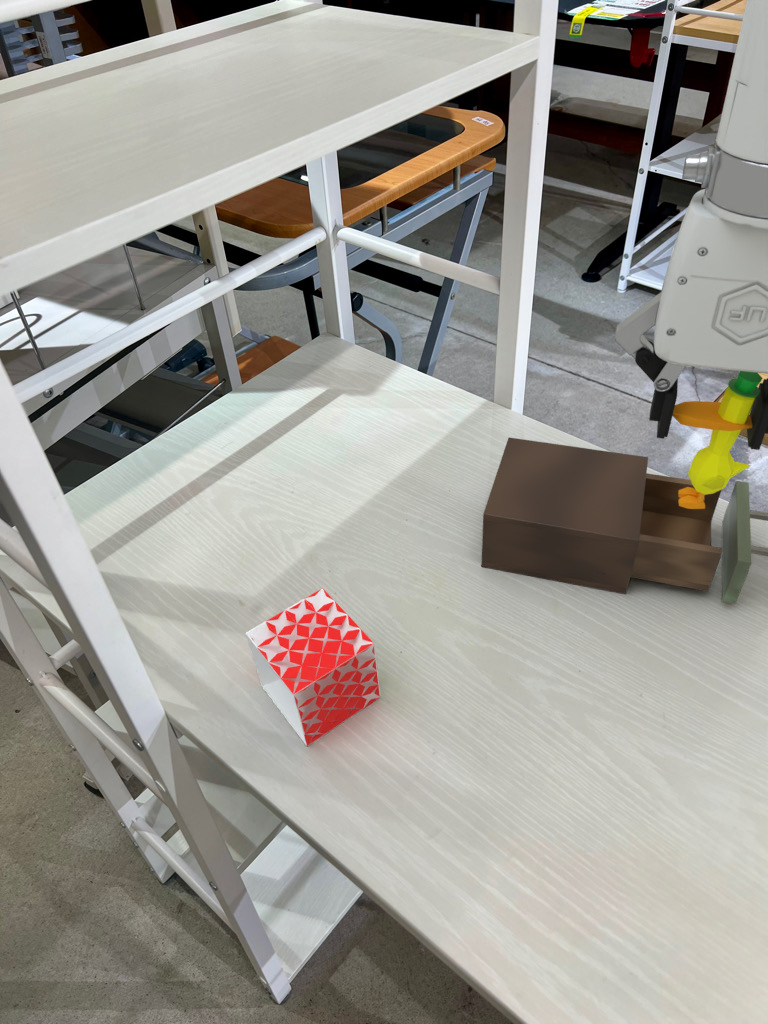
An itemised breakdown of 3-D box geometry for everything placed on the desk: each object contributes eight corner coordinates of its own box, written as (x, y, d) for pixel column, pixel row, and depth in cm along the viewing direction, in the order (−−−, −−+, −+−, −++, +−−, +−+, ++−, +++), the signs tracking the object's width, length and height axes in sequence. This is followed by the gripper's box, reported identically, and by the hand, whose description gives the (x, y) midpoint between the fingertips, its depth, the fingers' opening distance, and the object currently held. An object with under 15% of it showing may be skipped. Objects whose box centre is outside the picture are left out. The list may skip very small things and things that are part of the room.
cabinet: (636, 510, 82) (648, 456, 77) (625, 594, 74) (639, 540, 69) (505, 489, 86) (508, 437, 81) (481, 566, 78) (483, 513, 73)
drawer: (784, 531, 77) (802, 490, 73) (791, 614, 70) (812, 573, 66) (602, 502, 82) (610, 462, 78) (590, 577, 75) (598, 536, 71)
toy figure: (645, 509, 59) (687, 381, 50) (644, 480, 61) (684, 353, 53) (735, 522, 58) (793, 393, 49) (730, 491, 60) (784, 364, 52)
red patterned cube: (380, 697, 67) (374, 643, 62) (307, 747, 64) (293, 695, 58) (331, 641, 72) (321, 587, 67) (261, 685, 69) (244, 632, 63)
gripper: (617, 197, 42) (581, 448, 55) (967, 211, 38) (843, 481, 50) (626, 153, 47) (592, 392, 60) (935, 161, 43) (829, 417, 55)
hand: (707, 430), depth 55 cm, fingers closed on toy figure, 5 cm apart
